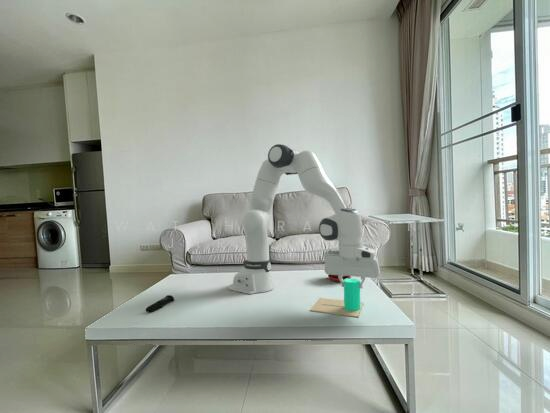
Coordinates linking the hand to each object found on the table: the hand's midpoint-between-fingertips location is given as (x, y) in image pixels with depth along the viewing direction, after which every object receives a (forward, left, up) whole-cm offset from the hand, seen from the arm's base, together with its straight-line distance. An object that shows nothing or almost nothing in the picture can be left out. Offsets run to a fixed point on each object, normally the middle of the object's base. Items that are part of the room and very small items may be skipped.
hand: (352, 287), depth 107 cm
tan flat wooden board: (-6, 0, -8) cm, 10 cm away
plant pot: (-13, +38, -9) cm, 41 cm away
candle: (0, 0, -8) cm, 8 cm away
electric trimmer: (-76, -22, -9) cm, 80 cm away
